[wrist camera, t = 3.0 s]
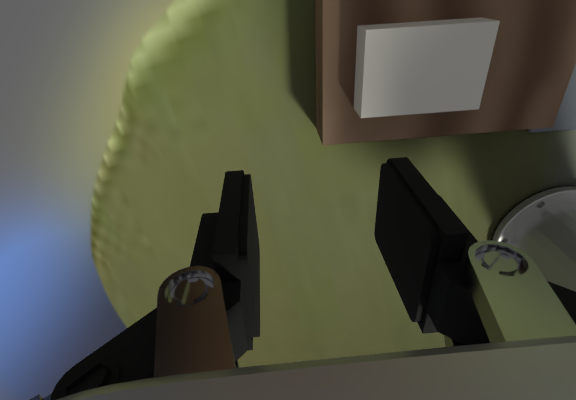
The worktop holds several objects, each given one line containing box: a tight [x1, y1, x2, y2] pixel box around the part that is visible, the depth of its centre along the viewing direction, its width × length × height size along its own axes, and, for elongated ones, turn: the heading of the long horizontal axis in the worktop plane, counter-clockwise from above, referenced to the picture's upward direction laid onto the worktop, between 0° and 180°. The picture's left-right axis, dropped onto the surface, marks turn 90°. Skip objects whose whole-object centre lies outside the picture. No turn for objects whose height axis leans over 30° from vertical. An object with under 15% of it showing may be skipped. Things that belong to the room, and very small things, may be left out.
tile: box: [354, 17, 500, 118], centre depth 26 cm, size 9×6×2 cm, turn 93°
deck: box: [315, 0, 576, 145], centre depth 29 cm, size 20×12×4 cm, turn 93°
